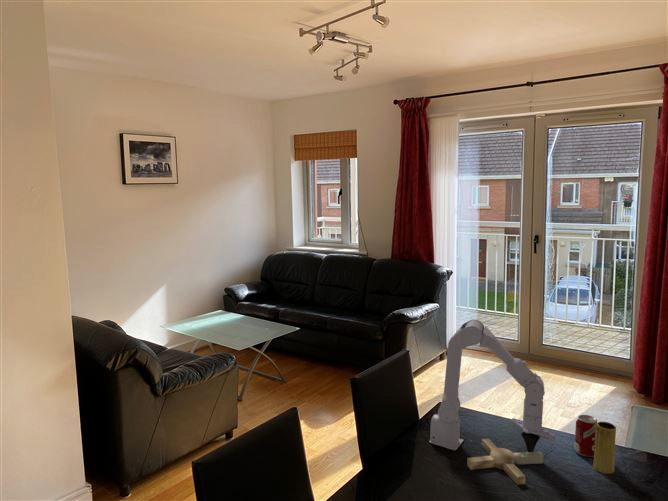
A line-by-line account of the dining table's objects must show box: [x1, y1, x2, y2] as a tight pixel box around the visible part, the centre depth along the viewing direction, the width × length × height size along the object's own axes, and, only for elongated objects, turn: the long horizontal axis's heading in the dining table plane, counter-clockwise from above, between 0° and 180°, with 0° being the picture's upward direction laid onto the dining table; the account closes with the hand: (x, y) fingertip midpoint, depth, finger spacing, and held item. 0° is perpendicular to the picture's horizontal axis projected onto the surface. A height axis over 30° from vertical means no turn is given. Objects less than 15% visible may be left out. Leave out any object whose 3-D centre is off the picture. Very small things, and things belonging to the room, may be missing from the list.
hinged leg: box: [512, 451, 544, 465], centre depth 159 cm, size 9×2×3 cm, turn 94°
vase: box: [592, 421, 617, 475], centre depth 154 cm, size 6×6×14 cm
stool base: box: [466, 438, 526, 486], centre depth 157 cm, size 15×22×4 cm, turn 10°
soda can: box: [573, 414, 598, 458], centre depth 163 cm, size 7×7×12 cm
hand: (530, 453), depth 161 cm, fingers closed
